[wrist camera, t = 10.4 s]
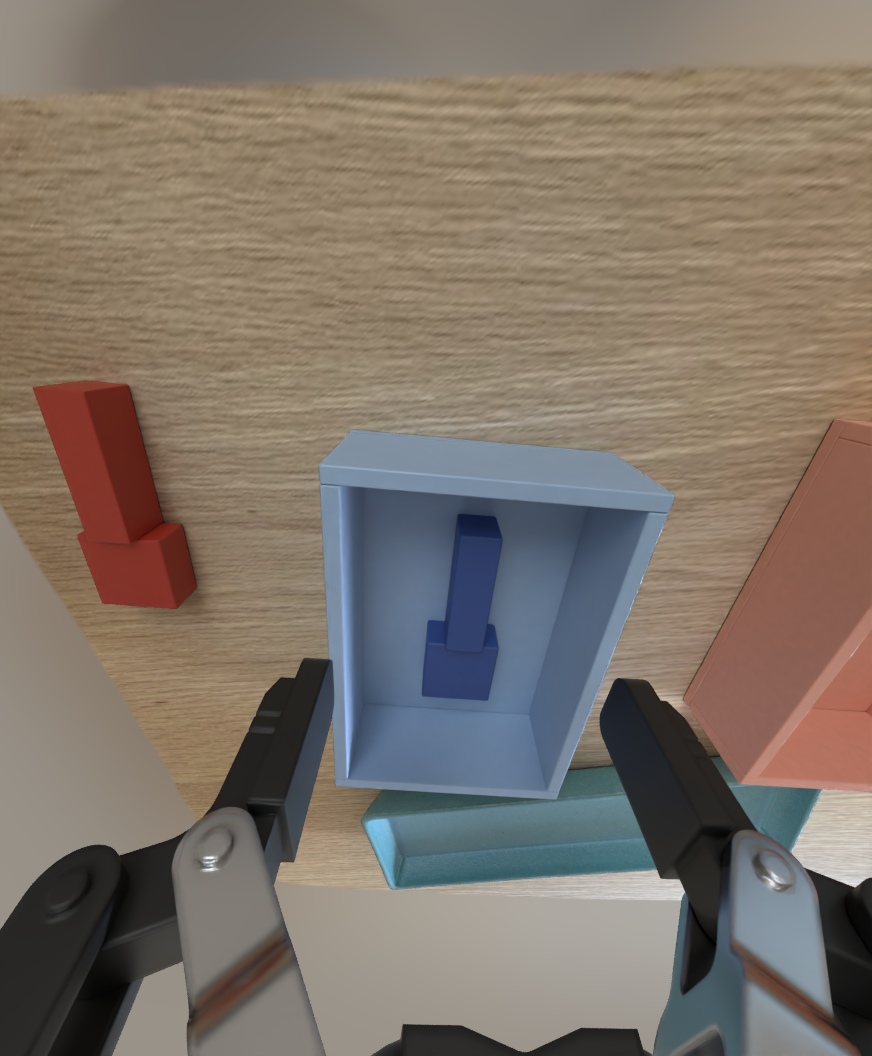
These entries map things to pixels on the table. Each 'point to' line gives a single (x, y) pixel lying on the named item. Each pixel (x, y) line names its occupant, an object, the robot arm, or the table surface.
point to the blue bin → (516, 610)
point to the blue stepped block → (466, 617)
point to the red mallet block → (115, 496)
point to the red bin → (802, 637)
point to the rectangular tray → (543, 830)
